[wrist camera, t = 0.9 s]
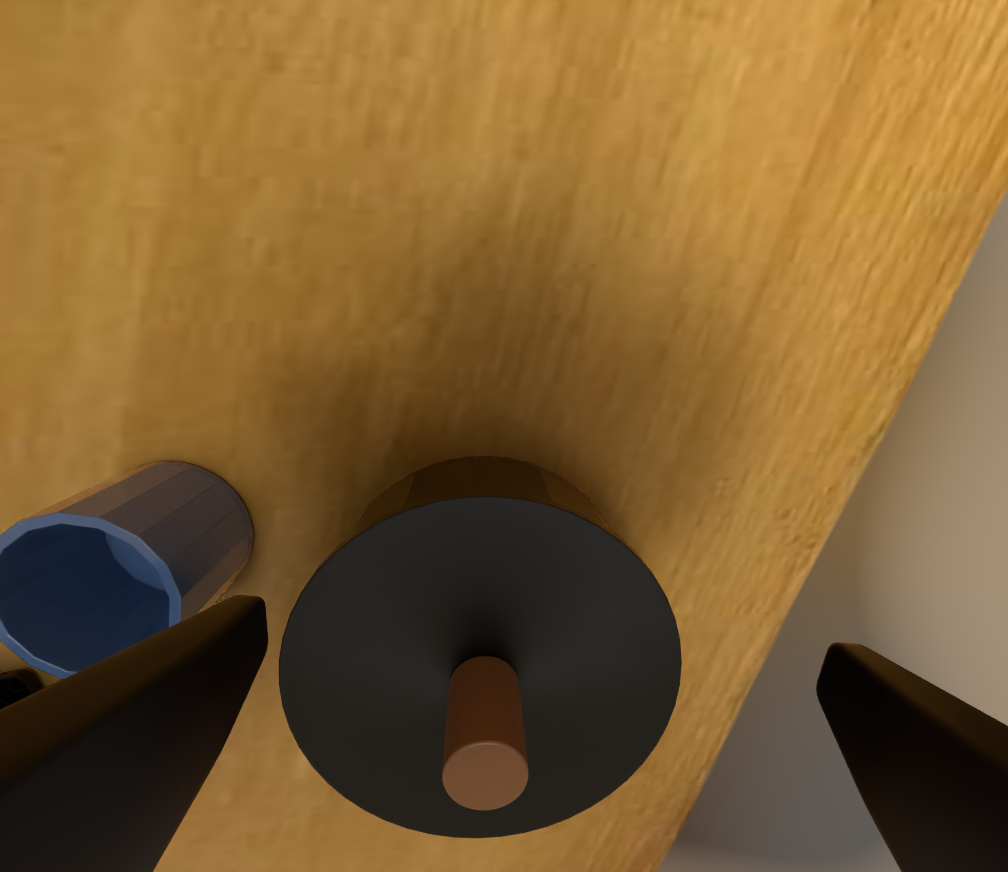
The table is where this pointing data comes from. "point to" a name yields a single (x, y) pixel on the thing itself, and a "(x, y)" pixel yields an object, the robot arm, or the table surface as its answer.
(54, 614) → the cup
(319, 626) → the lid
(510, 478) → the pot
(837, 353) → the table surface
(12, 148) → the table surface
